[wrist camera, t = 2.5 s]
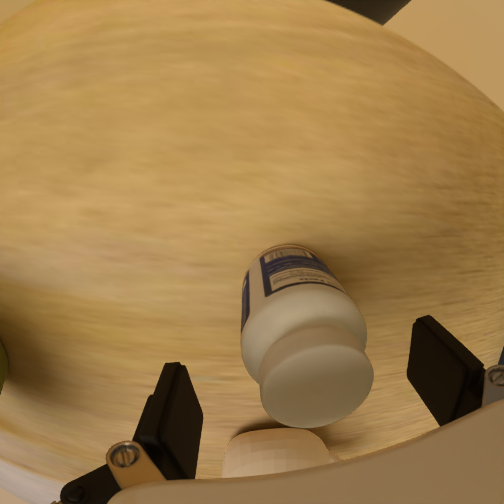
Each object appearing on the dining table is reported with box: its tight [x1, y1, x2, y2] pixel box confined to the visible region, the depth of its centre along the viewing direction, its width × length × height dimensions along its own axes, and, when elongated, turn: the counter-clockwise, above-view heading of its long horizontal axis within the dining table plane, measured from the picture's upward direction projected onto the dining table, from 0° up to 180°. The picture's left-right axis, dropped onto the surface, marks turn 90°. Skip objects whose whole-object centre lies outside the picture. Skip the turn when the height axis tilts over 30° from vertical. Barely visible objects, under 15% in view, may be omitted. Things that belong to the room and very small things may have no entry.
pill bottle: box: [241, 245, 374, 428], centre depth 14 cm, size 5×5×10 cm
